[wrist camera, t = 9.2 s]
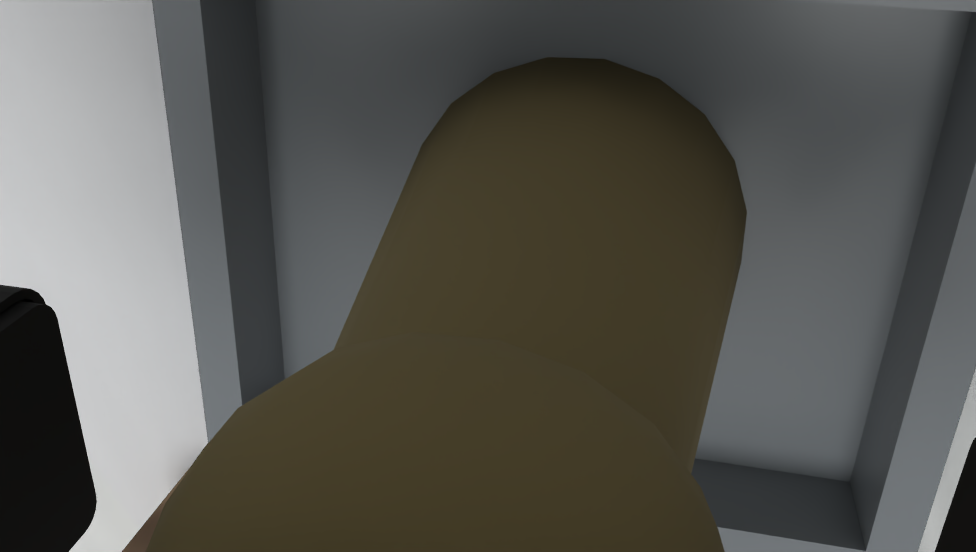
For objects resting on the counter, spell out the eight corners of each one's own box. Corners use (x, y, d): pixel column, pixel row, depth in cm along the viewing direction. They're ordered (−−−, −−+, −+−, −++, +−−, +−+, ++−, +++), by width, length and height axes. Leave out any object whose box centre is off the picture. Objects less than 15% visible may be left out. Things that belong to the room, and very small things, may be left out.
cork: (822, 242, 15) (1025, 937, 6) (565, 425, 18) (409, 1105, 8) (577, -25, 14) (323, 274, 5) (343, 210, 17) (-125, 708, 7)
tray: (218, -109, 16) (139, -99, 13) (1039, -67, 13) (1106, -48, 11) (265, 407, 20) (212, 476, 18) (880, 501, 18) (904, 594, 16)
